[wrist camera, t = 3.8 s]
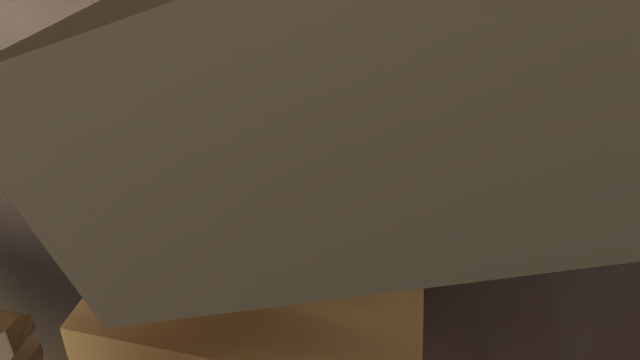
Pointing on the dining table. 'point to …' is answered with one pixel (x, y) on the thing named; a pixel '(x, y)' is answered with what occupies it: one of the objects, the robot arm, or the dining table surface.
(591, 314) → the dining table surface
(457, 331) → the dining table surface
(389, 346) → the maple block
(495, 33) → the grey square tile
